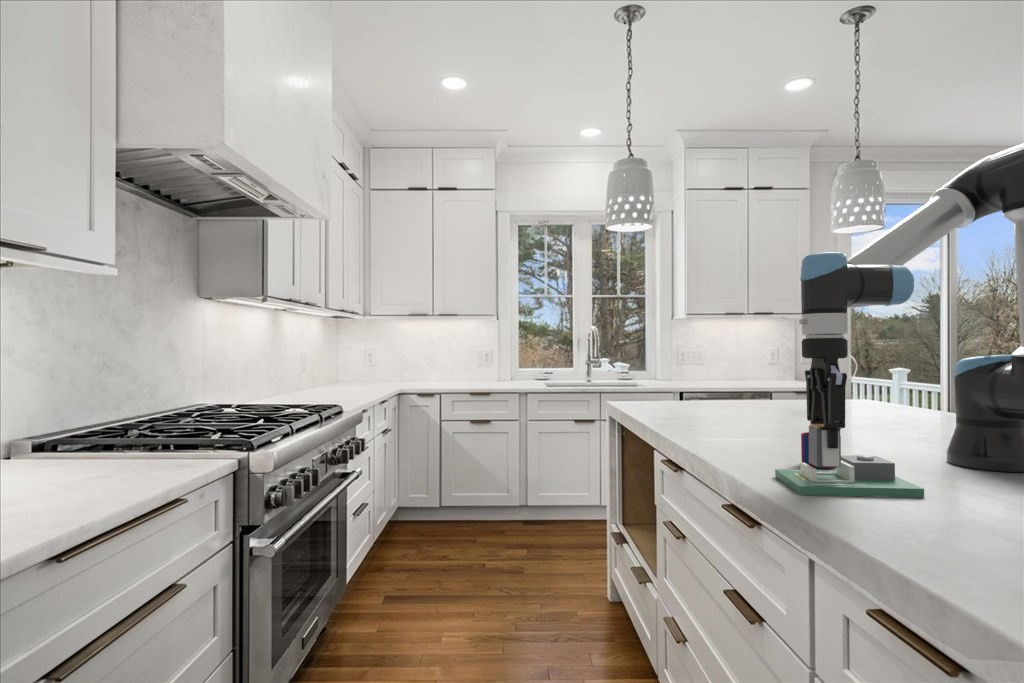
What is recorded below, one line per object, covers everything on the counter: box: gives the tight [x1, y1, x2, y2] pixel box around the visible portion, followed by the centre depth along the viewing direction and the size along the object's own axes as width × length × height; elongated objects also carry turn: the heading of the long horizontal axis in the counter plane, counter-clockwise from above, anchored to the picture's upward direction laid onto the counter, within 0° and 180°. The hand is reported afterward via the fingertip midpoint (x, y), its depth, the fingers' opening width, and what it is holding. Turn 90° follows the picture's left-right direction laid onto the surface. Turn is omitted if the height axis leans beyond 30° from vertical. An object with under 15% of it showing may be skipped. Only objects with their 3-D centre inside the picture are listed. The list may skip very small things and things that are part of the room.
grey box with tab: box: [841, 454, 896, 480], centre depth 110 cm, size 7×7×4 cm
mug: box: [800, 431, 836, 470], centre depth 124 cm, size 7×10×7 cm
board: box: [774, 461, 925, 498], centre depth 108 cm, size 20×14×4 cm
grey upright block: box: [808, 423, 842, 468], centre depth 108 cm, size 4×4×7 cm
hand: (825, 462), depth 108 cm, fingers closed on grey upright block, 4 cm apart
